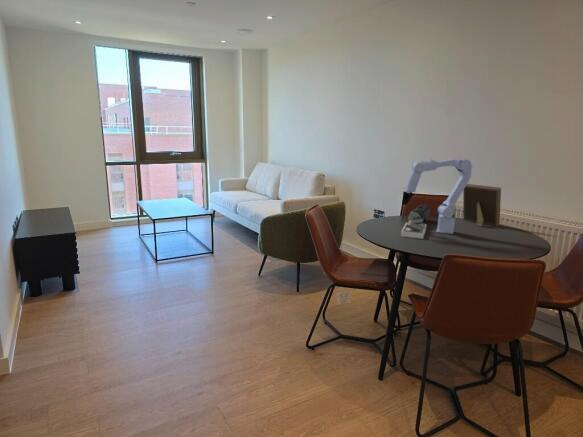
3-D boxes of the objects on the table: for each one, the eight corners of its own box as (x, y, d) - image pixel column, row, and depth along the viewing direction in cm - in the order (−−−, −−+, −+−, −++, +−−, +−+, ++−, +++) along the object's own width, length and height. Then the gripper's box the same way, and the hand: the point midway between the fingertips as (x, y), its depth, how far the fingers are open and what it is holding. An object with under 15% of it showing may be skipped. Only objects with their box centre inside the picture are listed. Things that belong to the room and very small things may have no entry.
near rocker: (421, 228, 230) (422, 226, 229) (419, 231, 222) (420, 229, 221) (407, 223, 232) (408, 221, 232) (405, 226, 224) (406, 224, 224)
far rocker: (423, 220, 240) (422, 218, 240) (421, 224, 232) (421, 221, 232) (409, 222, 243) (409, 220, 243) (407, 226, 235) (407, 223, 235)
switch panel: (426, 229, 242) (426, 222, 241) (422, 238, 220) (423, 231, 219) (405, 227, 246) (406, 220, 246) (400, 236, 225) (401, 229, 224)
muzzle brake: (430, 219, 269) (431, 204, 267) (421, 228, 245) (422, 211, 243) (415, 218, 273) (417, 203, 271) (405, 226, 250) (407, 210, 247)
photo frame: (466, 219, 272) (470, 183, 266) (499, 225, 256) (504, 186, 250) (456, 222, 262) (460, 184, 256) (489, 228, 246) (495, 188, 241)
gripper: (407, 179, 239) (399, 201, 242) (405, 180, 225) (396, 202, 228) (419, 183, 236) (410, 205, 239) (417, 184, 223) (408, 206, 226)
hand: (404, 204), depth 234 cm, fingers open, 7 cm apart
